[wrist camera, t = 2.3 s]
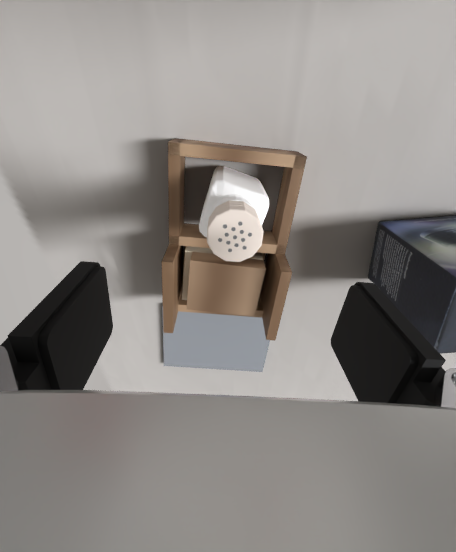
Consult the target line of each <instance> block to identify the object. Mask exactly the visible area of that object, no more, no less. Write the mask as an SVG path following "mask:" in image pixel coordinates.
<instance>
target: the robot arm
mask: <svg viewBox="0 0 456 552" xmlns="http://www.w3.org/2000/svg"><path fill="white" fill-rule="evenodd" d="M112 329H113V323H112V316H111V308H110V301H109V293H108V286H107V278H106V271H105V268H104V267H101V266H100V264H99V263H96V262H82V261H81V262H80V263H79V264H78V265H77V266H76V267H75V268H74V269H73V270H72V271H71V272H70V273H69V274H68V275H67V276H66V277H65V278H64V279H63V280H62V281H61V282H60V283H59V284H58V285H57V286H56V287H55V288H54V289H53V290H52V291H51V292H50V293H49V294H48V295H47V296H46V297H45V298H44V299H43V301H41V303H39V304H38V306H37V307H36V308H35V309H34V310H33V311H32V312H31V313H30V314H29V315H28V316H27V317H26V318H25V319H24V320H23V321H22V322H21V323H20V324H19V325H18V326H17V327H16V328H15V329H14V330H13V331H12V332H11V333H10V334H9V335H8V338H7V339H6V340H5V341H4V342H3V343H2V344H1V345H0V552H456V368H451V369H449V370H447V371H446V372H445V370H444V369H443V368H442V365H443V364H444V362H445V361H446V360H445V359H444V358H443V357H442V356H441V355H440V353H439V352H438V351H437V350H436V349H435V348H434V347H433V346H432V345H431V344H430V343H429V342H428V341H427V340H426V339H425V338H424V336H423V335H422V334H421V333H420V332H419V331H418V330H417V329H416V328H415V327H414V326H413V325H412V324H411V323H410V322H409V320H408V319H407V318H406V317H405V316H404V315H403V314H402V313H401V312H400V311H399V310H398V309H397V308H396V307H395V306H394V305H393V303H392V302H391V301H390V300H389V299H388V298H387V297H386V296H385V295H384V294H383V293H382V292H381V291H380V290H379V289H378V287H377V286H376V285H375V284H373V283H364V282H357V283H356V284H355V285H352V286H351V287H350V289H349V291H348V294H347V297H346V299H345V302H344V305H343V307H342V310H341V313H340V316H339V318H338V321H337V324H336V326H335V329H334V332H333V335H332V337H331V346H332V348H333V350H334V352H335V354H336V356H337V358H338V360H339V362H340V364H341V366H342V368H343V370H344V372H345V375H346V377H347V379H348V381H349V383H350V385H351V387H352V389H353V391H354V393H355V395H356V397H357V399H358V401H339V400H318V399H298V398H275V397H253V396H229V395H206V394H180V393H154V392H127V391H95V390H83V388H84V386H85V384H86V383H87V380H88V379H89V377H90V375H91V373H92V371H93V369H94V367H95V365H96V363H97V361H98V359H99V357H100V355H101V353H102V351H103V349H104V347H105V345H106V343H107V341H108V339H109V337H110V335H111V333H112Z"/></svg>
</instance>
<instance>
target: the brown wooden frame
mask: <svg viewBox="0 0 456 552" xmlns="http://www.w3.org/2000/svg"><path fill="white" fill-rule="evenodd" d="M185 156H186V157H196V158H205V159H215V160H224V161H234V162H243V163H253V164H262V165H272V166H281V167H284V170H283V176H282V181H281V186H280V191H279V197H278V202H277V207H276V212H275V218H274V223H273V228H272V231H264V233H263V239H262V246H261V247H260V248H259V249H258V251H257V252H260V253H268V254H267V260H266V265H265V268H266V271H265V275H264V279H263V283H262V288H261V292H260V296H259V300H258V304H257V309H256V313H255V316H248V317H261V318H262V319H263V325H264V331H265V336H266V340H275V339H276V335H277V331H278V327H279V323H280V319H281V315H282V311H283V307H284V303H285V299H286V295H287V291H288V287H289V283H290V279H291V275H292V271H291V268H290V266H289V264H288V261H287V259H286V256H285V251H286V247H287V243H288V238H289V234H290V229H291V225H292V220H293V216H294V211H295V207H296V203H297V198H298V194H299V189H300V185H301V180H302V176H303V172H304V167H305V163H306V158H307V157H306V156H304V155H303V154H301V153H299V152H296V151H287V150H278V149H269V148H260V147H250V146H241V145H232V144H223V143H213V142H204V141H195V140H186V139H177V138H175V139H173V140H171V141H169V142H168V195H169V246H168V248H167V250H166V253H165V255H164V257H163V260H162V295H163V333H173V331H174V327H175V323H176V319H177V314H178V311H180V312H193V313H207V314H220V315H234V316H245V315H236V314H226V313H217V312H207V311H198V310H188V309H187V300H182V291H183V290H182V284H183V246H191V247H203V248H210V247H209V245H208V243H207V237H205V236H204V235H203V234H202V233H201V232H200V231H199V225H196V224H185V223H184V187H185Z"/></svg>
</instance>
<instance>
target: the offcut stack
mask: <svg viewBox="0 0 456 552" xmlns="http://www.w3.org/2000/svg"><path fill="white" fill-rule="evenodd" d="M264 258H265V253H260V252H256V253H255V254H254V255H253V256H252V257H250V258H248V259H245V260H243V261H241V262H232V261H225V260H223V259H221V258H220V257H218V256H216V255H215V254H213V252H212V250H211V248H203V247H191V246H185V253H184V268H183V284H182V290H183V291H182V300H187V309H188V310H198V311H207V312H217V313H226V314H236V315H245V316H255V313H256V309H257V304H258V300H259V296H260V292H261V288H262V283H263V279H264V275H265V271H266V268H265V264H264Z"/></svg>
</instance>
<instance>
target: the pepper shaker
mask: <svg viewBox="0 0 456 552" xmlns="http://www.w3.org/2000/svg"><path fill="white" fill-rule="evenodd" d="M268 208H269V198H268V196H267V194H266V192H265V190H264V188H263V186H262V184H261V182H260V181H259V180H258V179H257V178H255V177H253V176H250V175H247V174H245V173H242V172H239V171H236V170H234V169H231V168H228V167H226V166H218V167H217V168H216V169H215V170H214V173H213V176H212V179H211V182H210V186H209V189H208V192H207V196H206V199H205V202H204V206H203V210H202V214H201V218H200V223H199V231H200V232H201V233H202V234H203V235H204V236H205V237H207V243H208V245H209V247H210V248H211V250H212V252H213V254H215V255H216V256H218V257H220V258H221V259H223V260H225V261H232V262H241V261H243V260H245V259H248V258H250V257H252V256H253V255H254V254H255V253H256V252H257V251H258V249H259V248H260V247H261V246H262V239H263V233H264V231H263V228H262V224H263V222H264V219H265V217H266V214H267V211H268Z"/></svg>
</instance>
